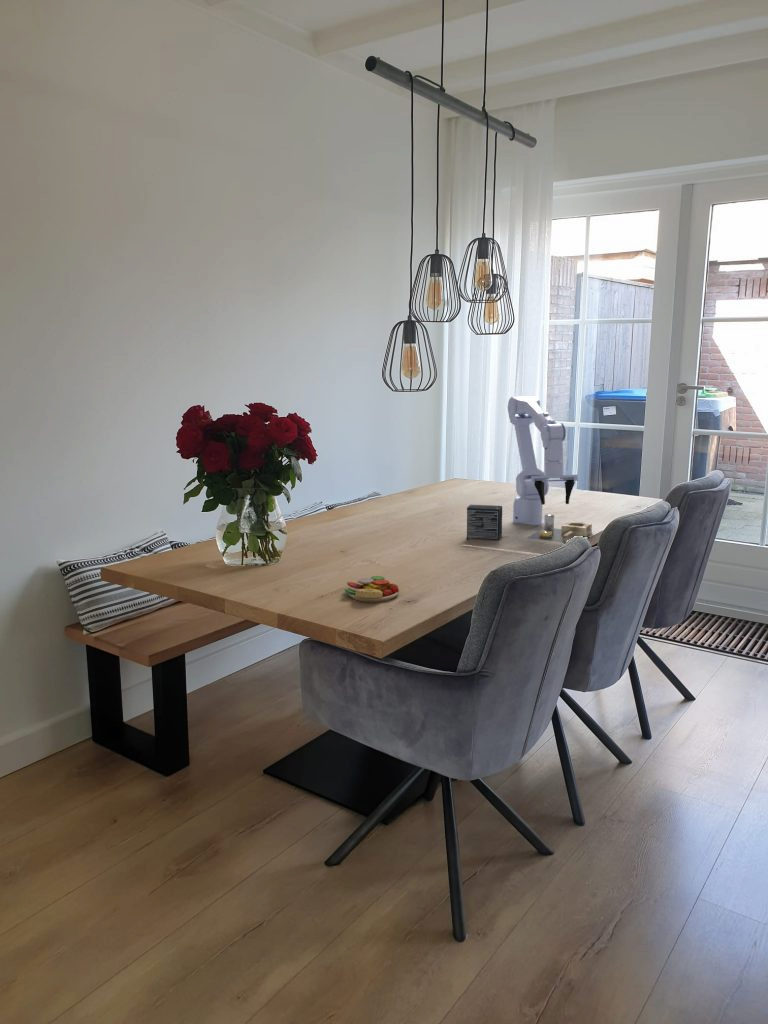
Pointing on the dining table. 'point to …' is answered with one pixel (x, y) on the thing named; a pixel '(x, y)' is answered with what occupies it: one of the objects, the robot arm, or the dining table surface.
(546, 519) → the steel pin
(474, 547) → the dining table surface
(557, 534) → the slate board
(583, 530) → the beech socket block
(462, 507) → the dining table surface
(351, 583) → the toy food set
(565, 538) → the beech rail
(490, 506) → the small box
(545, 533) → the gold metal dome
